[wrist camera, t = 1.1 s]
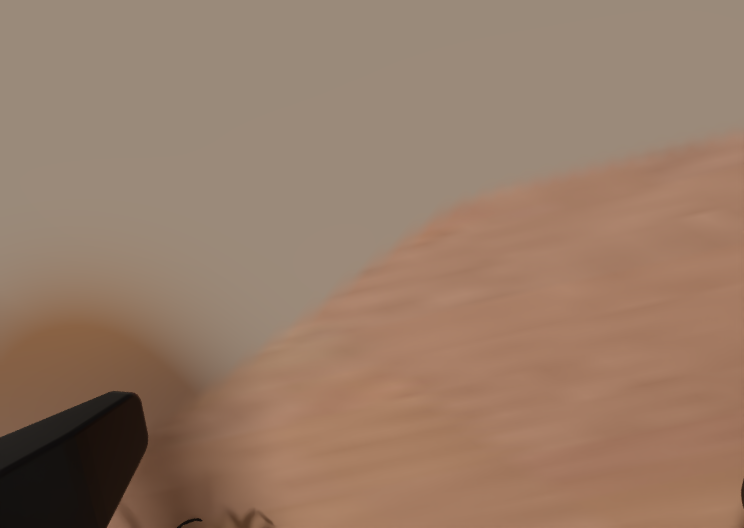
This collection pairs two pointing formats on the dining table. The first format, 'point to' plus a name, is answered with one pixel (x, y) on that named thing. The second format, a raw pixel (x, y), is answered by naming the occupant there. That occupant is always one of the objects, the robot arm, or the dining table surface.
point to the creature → (188, 522)
